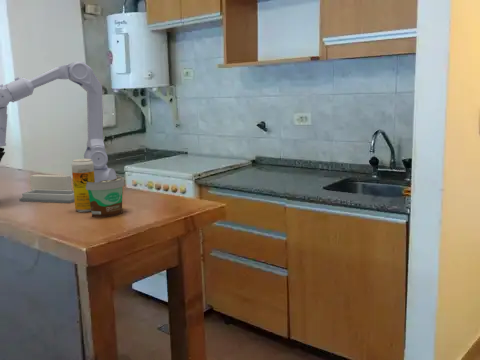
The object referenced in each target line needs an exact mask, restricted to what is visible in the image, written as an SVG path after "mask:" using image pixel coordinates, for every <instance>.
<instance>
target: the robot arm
mask: <svg viewBox="0 0 480 360" xmlns="http://www.w3.org/2000/svg"><path fill="white" fill-rule="evenodd" d="M56 80H69V81H70V82H73V83H75V84H77V85H79V86H80V87H81V89H83V90H84V91H85V92H86V105H87V106H86V107H87V108H86V109H87V110H86V112H87V141H86V149H85V151H84V155H83V159H92V162H93V164H94V178H95V182H100V181H103V180H114V179H117V173H116V170H115V169H114V168H109V167H108V161H109V159H108V158H109V157H108V154H107V152H106V147H105V142H104V128H103V126H104V121H103V114H104V113H103V108H104V107H103V85H102V83H101V82H100V81H99V79H98V77H97V76H96V74H95V73H94V70H93V68H92V67H91V66H89V65H88V64H86V63H85V62H84V61H81V60H78V61H77V60H76V61H74V62H71V63H66V64H62V65H59V66H56V67H54V68H52V69H49V70H47V71H45V72H43V73H40V74H38V75H36V76H33V77H32V78H25V77H24V76H23V77H20V78H19V76H18V77H15V78H14V80H13V81H10V82H9V83H6V84H0V163H2V159H3V157H4V155H6V152H5V148H4V147H7V143H6V142H7V141H6V139H7V126H8V113H7V110H8V105H9V104H10V103H15V102H18V101H20V100H22V99H25V98H26V97H29V96H32V95H33V93H34V90H35V89H36V88H38V87H42V86H45V85H46V84H48V83H51V82H54V81H56Z"/></svg>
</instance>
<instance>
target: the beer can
mask: <svg viewBox="0 0 480 360" xmlns="http://www.w3.org/2000/svg"><path fill="white" fill-rule="evenodd" d="M71 173H72V176H71V177H72V185H73V187H72V189H73V191H74V209H75V210H77V211H76V212H78V213H89V212H91V206H90V200H89V194H88V190H86V185H87V182H95V178H94V164H93V162H92V159H84V158H77V159H73V160H72V163H71Z"/></svg>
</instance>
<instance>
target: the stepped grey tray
mask: <svg viewBox="0 0 480 360" xmlns="http://www.w3.org/2000/svg"><path fill="white" fill-rule="evenodd" d="M21 196H22V197H20V198H19V201H18V202H31V203H33V202H34V203H55V204H56V203H58V204H60V203H61V204H72V203H75V201H74V190H72V191H70V190H39V189H34V190H29V191H26V192H22V193H21Z"/></svg>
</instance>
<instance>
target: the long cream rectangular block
mask: <svg viewBox="0 0 480 360" xmlns="http://www.w3.org/2000/svg"><path fill="white" fill-rule="evenodd" d="M29 181H30V189H31V190H34V189H39V190H70V191H73V187H72V185H73V184H72V176H71V175H69V174H67V175H64V174H63V175H62V174H61V175H60V174H59V175H58V174H33V175H30V176H29ZM31 190H30V191H31Z"/></svg>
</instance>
